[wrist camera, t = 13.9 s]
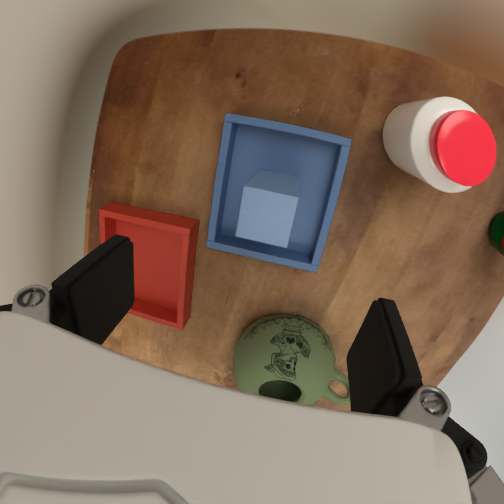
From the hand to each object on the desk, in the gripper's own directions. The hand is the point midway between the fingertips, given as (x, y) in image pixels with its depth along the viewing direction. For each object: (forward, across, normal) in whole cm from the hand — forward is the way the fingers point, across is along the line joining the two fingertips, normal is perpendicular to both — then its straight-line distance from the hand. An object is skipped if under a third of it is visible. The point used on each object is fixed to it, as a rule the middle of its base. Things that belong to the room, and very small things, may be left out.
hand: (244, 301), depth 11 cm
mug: (+21, -7, +21) cm, 30 cm away
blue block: (+21, 0, +1) cm, 21 cm away
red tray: (+21, +14, +13) cm, 28 cm away
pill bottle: (+22, -12, -8) cm, 26 cm away
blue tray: (+21, 0, +1) cm, 21 cm away
